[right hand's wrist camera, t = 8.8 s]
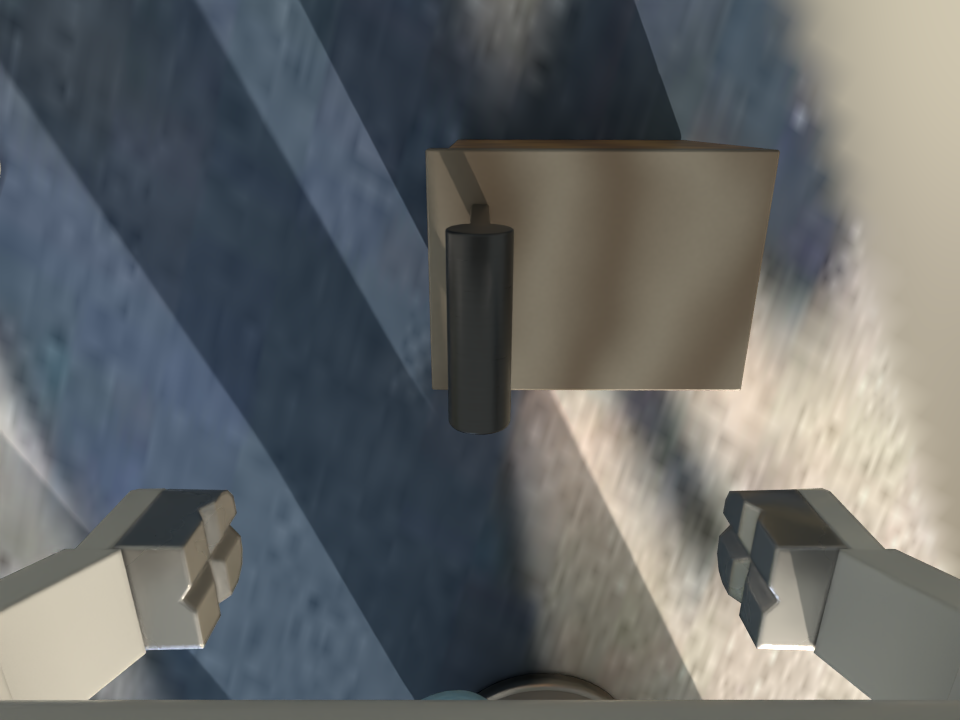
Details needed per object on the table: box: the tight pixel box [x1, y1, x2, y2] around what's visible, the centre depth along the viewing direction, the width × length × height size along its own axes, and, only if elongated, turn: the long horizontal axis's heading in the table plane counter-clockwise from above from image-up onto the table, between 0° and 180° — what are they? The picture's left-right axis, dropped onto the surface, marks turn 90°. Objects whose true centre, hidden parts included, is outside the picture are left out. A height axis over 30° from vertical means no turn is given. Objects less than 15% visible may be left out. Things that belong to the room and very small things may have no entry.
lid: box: [425, 148, 780, 435], centre depth 23 cm, size 14×10×9 cm
